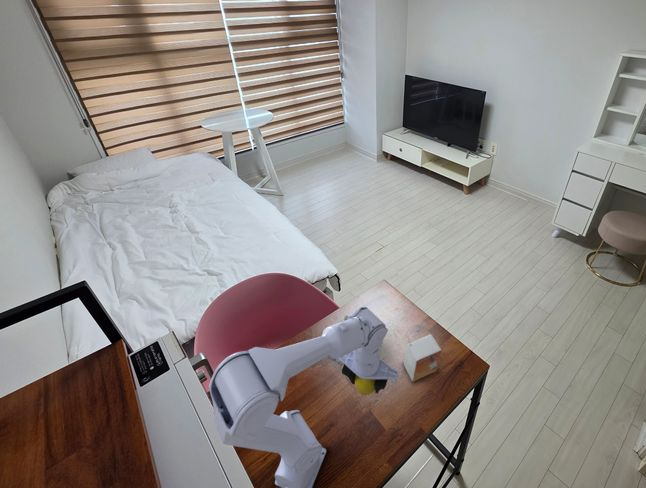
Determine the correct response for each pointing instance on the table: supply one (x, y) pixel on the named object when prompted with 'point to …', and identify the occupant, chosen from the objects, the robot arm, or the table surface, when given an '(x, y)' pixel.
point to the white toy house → (422, 357)
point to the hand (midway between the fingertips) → (366, 384)
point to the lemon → (365, 385)
